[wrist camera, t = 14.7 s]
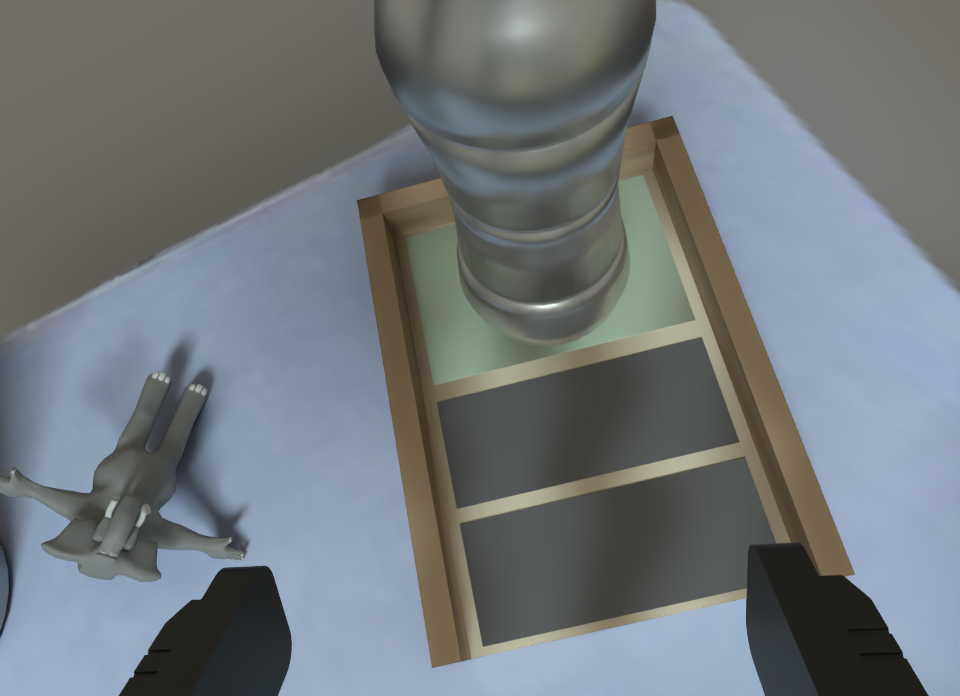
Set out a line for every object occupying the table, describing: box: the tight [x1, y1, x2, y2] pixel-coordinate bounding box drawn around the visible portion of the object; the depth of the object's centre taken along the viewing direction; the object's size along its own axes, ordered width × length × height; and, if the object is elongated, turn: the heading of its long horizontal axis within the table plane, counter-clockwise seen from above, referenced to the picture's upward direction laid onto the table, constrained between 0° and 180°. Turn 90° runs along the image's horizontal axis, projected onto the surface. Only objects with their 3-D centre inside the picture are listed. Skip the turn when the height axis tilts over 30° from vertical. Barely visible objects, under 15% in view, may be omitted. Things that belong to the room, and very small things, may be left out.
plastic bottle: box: [374, 0, 656, 346], centre depth 21 cm, size 6×7×20 cm
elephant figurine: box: [0, 372, 245, 582], centre depth 29 cm, size 10×6×9 cm
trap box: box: [357, 116, 855, 668], centre depth 28 cm, size 14×19×4 cm
